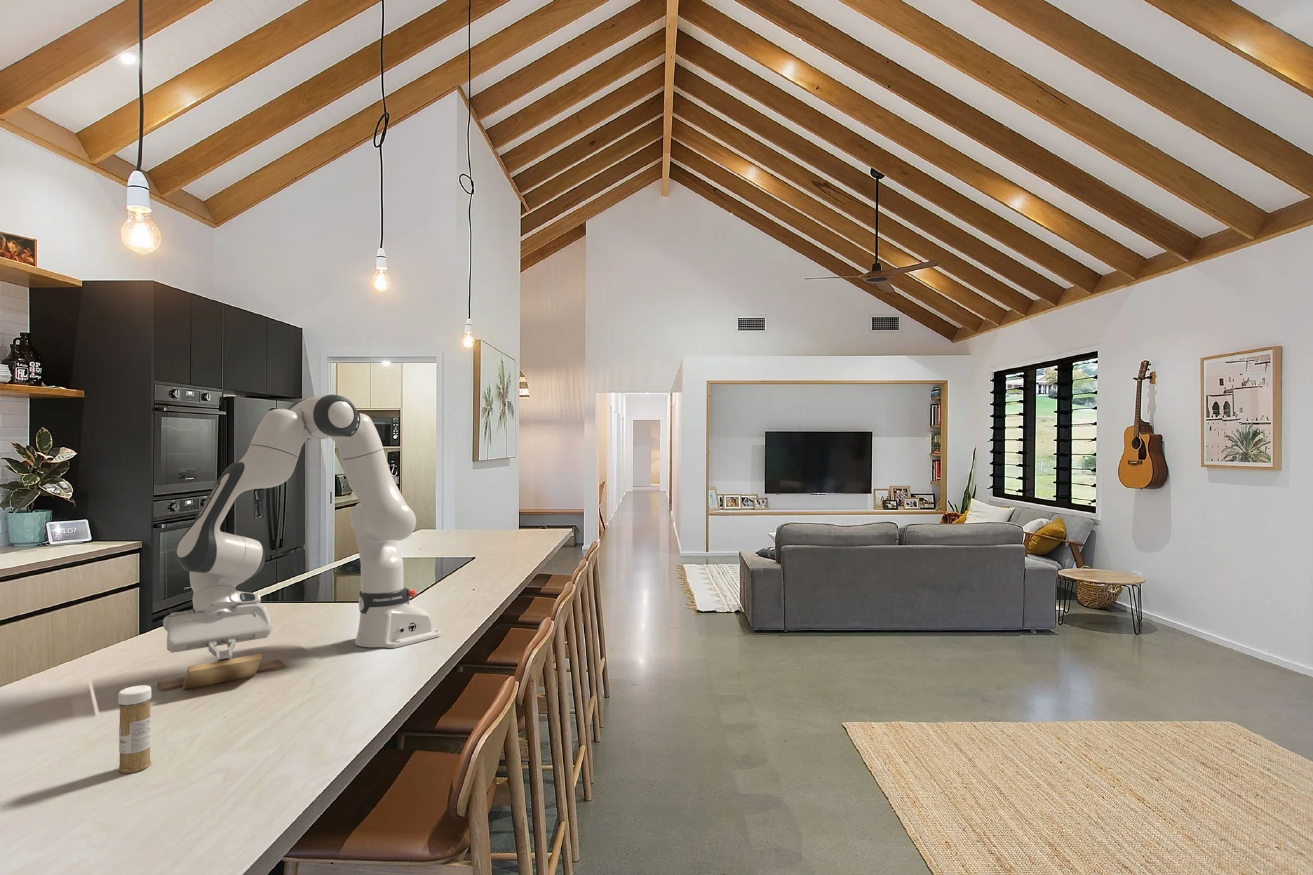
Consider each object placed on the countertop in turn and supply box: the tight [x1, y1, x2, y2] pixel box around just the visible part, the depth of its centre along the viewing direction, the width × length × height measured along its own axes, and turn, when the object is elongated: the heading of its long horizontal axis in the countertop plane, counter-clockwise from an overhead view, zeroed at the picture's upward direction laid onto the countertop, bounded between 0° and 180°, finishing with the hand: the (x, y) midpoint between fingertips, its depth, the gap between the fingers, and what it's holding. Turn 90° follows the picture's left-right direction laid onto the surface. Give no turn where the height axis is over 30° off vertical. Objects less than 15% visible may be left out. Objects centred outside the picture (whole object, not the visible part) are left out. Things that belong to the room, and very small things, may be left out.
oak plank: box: [182, 653, 263, 690], centre depth 162 cm, size 14×10×1 cm
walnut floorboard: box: [156, 659, 286, 693], centre depth 169 cm, size 25×6×1 cm, turn 131°
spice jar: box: [117, 684, 152, 774], centre depth 122 cm, size 5×5×14 cm
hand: (224, 659), depth 159 cm, fingers closed, pressing on oak plank
